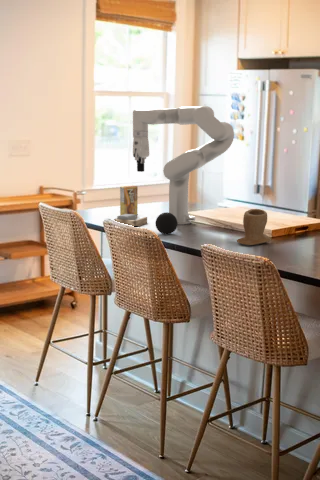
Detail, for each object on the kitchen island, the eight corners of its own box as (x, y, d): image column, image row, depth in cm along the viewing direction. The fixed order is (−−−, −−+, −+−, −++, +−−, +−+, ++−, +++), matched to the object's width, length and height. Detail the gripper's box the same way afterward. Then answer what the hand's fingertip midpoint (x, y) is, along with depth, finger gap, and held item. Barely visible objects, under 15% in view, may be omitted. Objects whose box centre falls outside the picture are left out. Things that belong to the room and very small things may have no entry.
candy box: (133, 213, 388) (132, 185, 385) (138, 214, 385) (137, 186, 382) (119, 215, 382) (119, 186, 379) (124, 216, 379) (124, 187, 376)
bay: (147, 223, 358) (147, 217, 358) (135, 227, 347) (135, 220, 347) (125, 221, 363) (125, 215, 363) (114, 225, 352) (113, 219, 352)
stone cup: (252, 248, 297) (253, 212, 295) (232, 244, 307) (233, 209, 304) (278, 244, 306) (279, 209, 303) (258, 240, 316) (259, 206, 313)
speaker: (154, 232, 334) (154, 211, 332) (176, 232, 334) (176, 210, 333) (156, 236, 324) (156, 214, 322) (178, 235, 325) (178, 214, 323)
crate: (136, 223, 357) (136, 214, 356) (127, 226, 350) (127, 216, 349) (125, 222, 360) (125, 213, 359) (117, 225, 353) (117, 215, 352)
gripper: (140, 135, 349) (140, 173, 352) (153, 134, 362) (153, 170, 366) (126, 135, 352) (127, 172, 355) (140, 133, 365) (140, 169, 369)
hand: (140, 171), depth 360 cm, fingers closed
